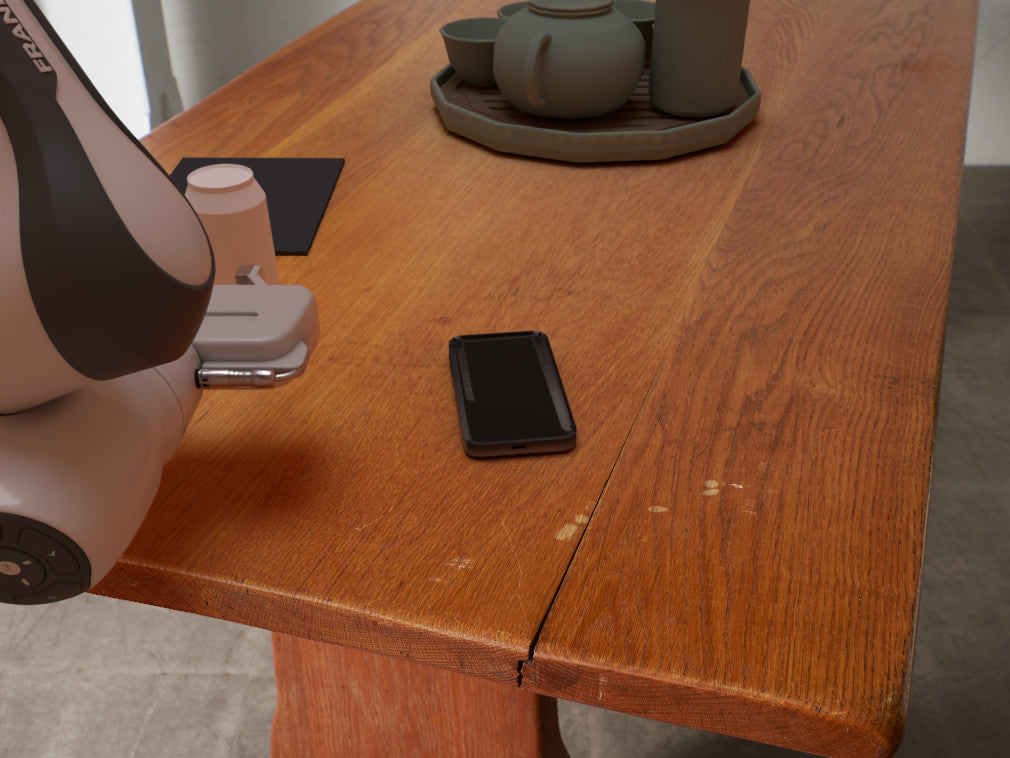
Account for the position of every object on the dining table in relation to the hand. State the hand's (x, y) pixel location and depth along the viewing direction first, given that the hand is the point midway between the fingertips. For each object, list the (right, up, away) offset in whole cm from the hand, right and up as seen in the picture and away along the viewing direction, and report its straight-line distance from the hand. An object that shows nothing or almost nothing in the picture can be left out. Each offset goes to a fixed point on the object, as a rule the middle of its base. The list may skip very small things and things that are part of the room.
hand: (184, 274), depth 69 cm
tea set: (+32, +34, +57) cm, 74 cm away
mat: (-5, +15, +34) cm, 38 cm away
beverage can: (0, 0, +15) cm, 15 cm away
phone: (+22, -8, +6) cm, 24 cm away
